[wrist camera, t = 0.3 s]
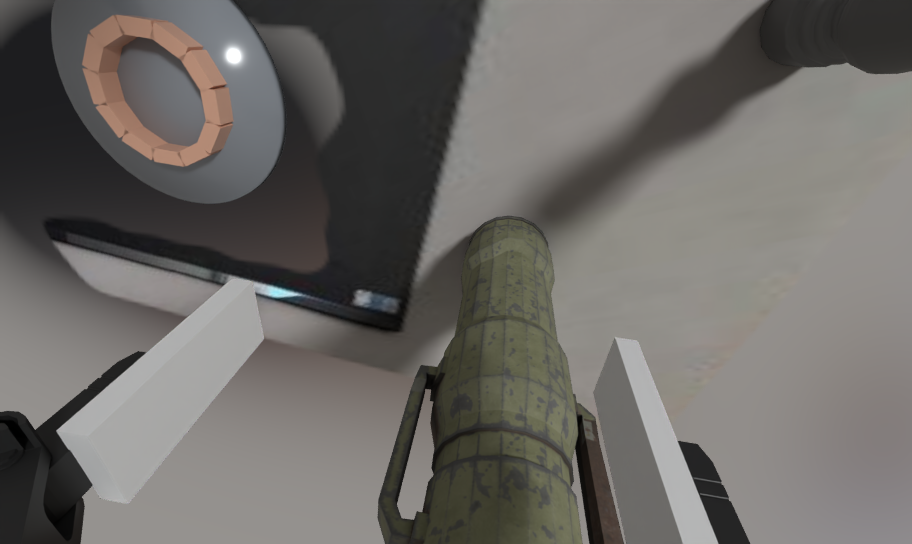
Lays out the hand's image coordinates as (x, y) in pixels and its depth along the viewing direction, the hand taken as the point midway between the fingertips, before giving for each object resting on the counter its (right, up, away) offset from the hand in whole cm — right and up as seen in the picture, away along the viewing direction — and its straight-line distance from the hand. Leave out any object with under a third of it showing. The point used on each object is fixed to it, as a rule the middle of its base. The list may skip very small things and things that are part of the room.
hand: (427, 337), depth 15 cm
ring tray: (-26, +20, +25) cm, 41 cm away
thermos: (+7, +5, +29) cm, 30 cm away
